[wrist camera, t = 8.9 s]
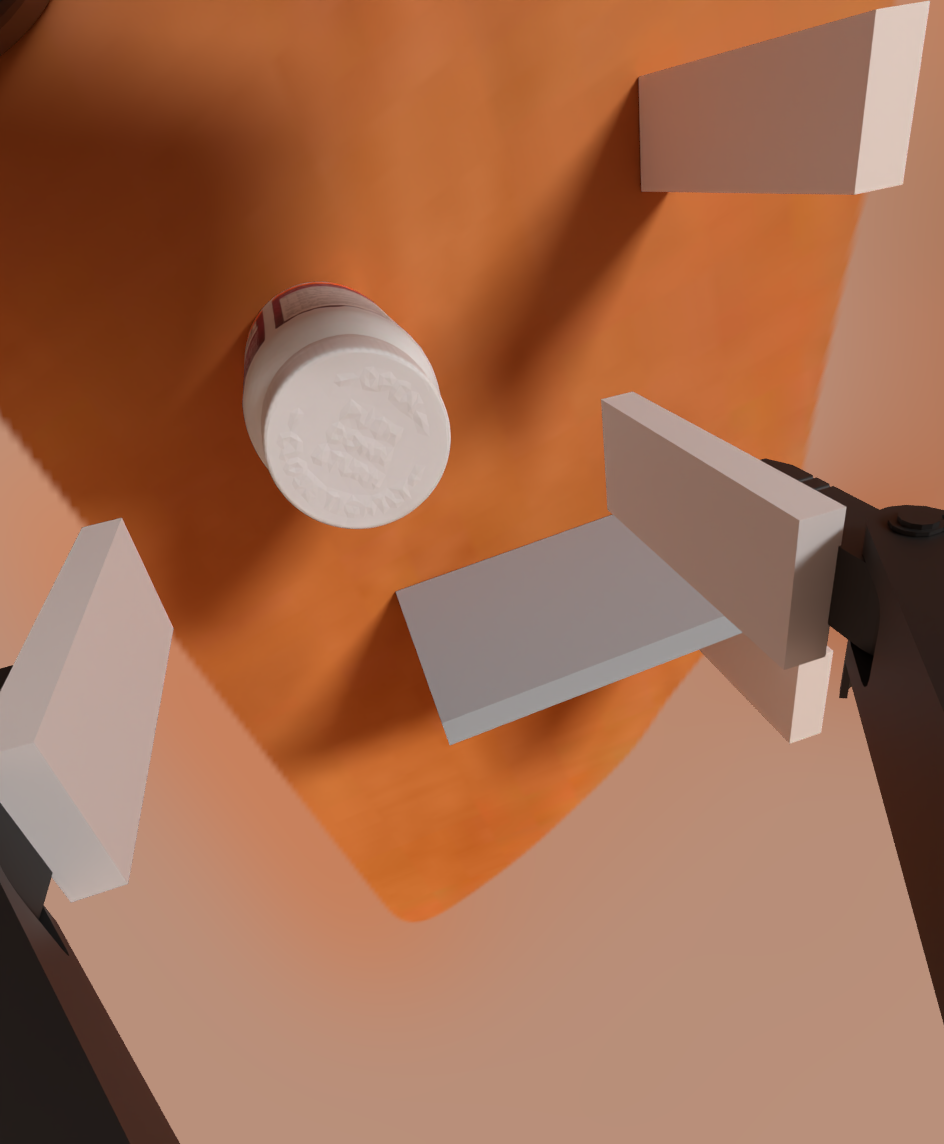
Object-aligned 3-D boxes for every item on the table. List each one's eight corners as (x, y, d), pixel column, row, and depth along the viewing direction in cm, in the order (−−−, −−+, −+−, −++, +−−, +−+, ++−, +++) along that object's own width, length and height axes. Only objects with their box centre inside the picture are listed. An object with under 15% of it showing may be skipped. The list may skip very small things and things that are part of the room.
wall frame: (638, 76, 27) (876, 9, 16) (673, 70, 27) (930, 0, 17) (650, 599, 39) (789, 743, 29) (674, 592, 39) (821, 732, 29)
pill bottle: (319, 461, 30) (349, 587, 21) (210, 348, 27) (187, 437, 17) (427, 369, 30) (510, 455, 20) (330, 242, 26) (374, 274, 17)
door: (675, 486, 36) (823, 591, 27) (679, 531, 37) (820, 644, 28) (393, 586, 34) (446, 735, 25) (408, 629, 36) (463, 784, 26)
